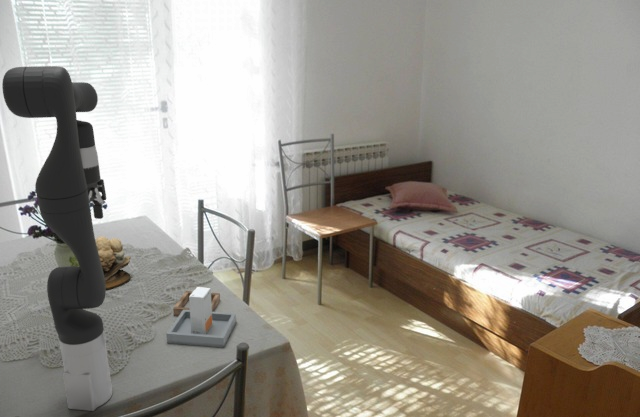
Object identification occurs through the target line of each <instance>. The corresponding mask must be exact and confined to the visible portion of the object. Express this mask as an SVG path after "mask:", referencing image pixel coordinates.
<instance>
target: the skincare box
mask: <svg viewBox="0 0 640 417" xmlns="http://www.w3.org/2000/svg"><path fill="white" fill-rule="evenodd" d="M211 289H212V288H210V287H202V286H196V288H195V289H194V290H192V294H191V295H190V296H189V300H188V302H189V303H188V304H189V308H190V322H191V334H204V335H206V333H207V332H208V330H209V329H210V327H211V326H212V304H211V293H212V290H211Z"/></svg>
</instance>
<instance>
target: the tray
mask: <svg viewBox="0 0 640 417" xmlns="http://www.w3.org/2000/svg"><path fill="white" fill-rule="evenodd" d="M236 324H237V313H236V312H223V311H222V312H221V311H214V312H212V326H211V327H210V329H209V330H208V332H207V333H206V335H204V334H191V322H190V310H183V311H182V312H181V313H180V315H179V316H177V318H176V319H175V321H174V322H173V324H172V325H171V326H170V327H169V329H168V330H167V332H166V343H167V344H172V345H173V344H175V345H185V346H186V345H187V346H199V347H213V348H225V346H226V344H227V342H228V340H229V338H230V337H231V334H232V332H233V330H234V327H235V326H236Z"/></svg>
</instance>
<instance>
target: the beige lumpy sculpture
mask: <svg viewBox="0 0 640 417" xmlns="http://www.w3.org/2000/svg"><path fill="white" fill-rule="evenodd" d="M95 241H96V245H97V249H98V253H99V257H100V261H101V265H102V269H103V273H104V278H105V285H106V291H109V290H113V289H117V288H119V287H122V286H124V285H125V284H127V283H128V282H130V281H131V279H132V278H131V277H132V276H131V274H130V273H129V272H127V271H126V270H124V269H123V268H125V267H127V266H128V265H129V263H130V262H131V256H129V255H127V256H125V250H123V249H124V247H123V246H124V245H123V244H122V241H121V240H120V239H119V238H110V240H109V239H108V238H107V237H106V236H98V237H97V238H96V239H95Z"/></svg>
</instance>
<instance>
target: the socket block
mask: <svg viewBox="0 0 640 417" xmlns="http://www.w3.org/2000/svg"><path fill="white" fill-rule="evenodd" d="M192 292H193V290H192V291H190V290H186V291H184V293H183V294H182V296H181V297H180V299H179V300H178V301H177V302H176V304H175V305H174V307H173V308H172V309H173V316H174V317H178V316H179V315H180V313H181V312H182V311H183V310H190V307H185V306H186V304H187V302H189V296H190V295H191V294H192ZM220 302H221V295H220V292H219V293H218V292H211V304H212V312H215V310H216V308H217V307H218V305H219V303H220Z"/></svg>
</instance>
